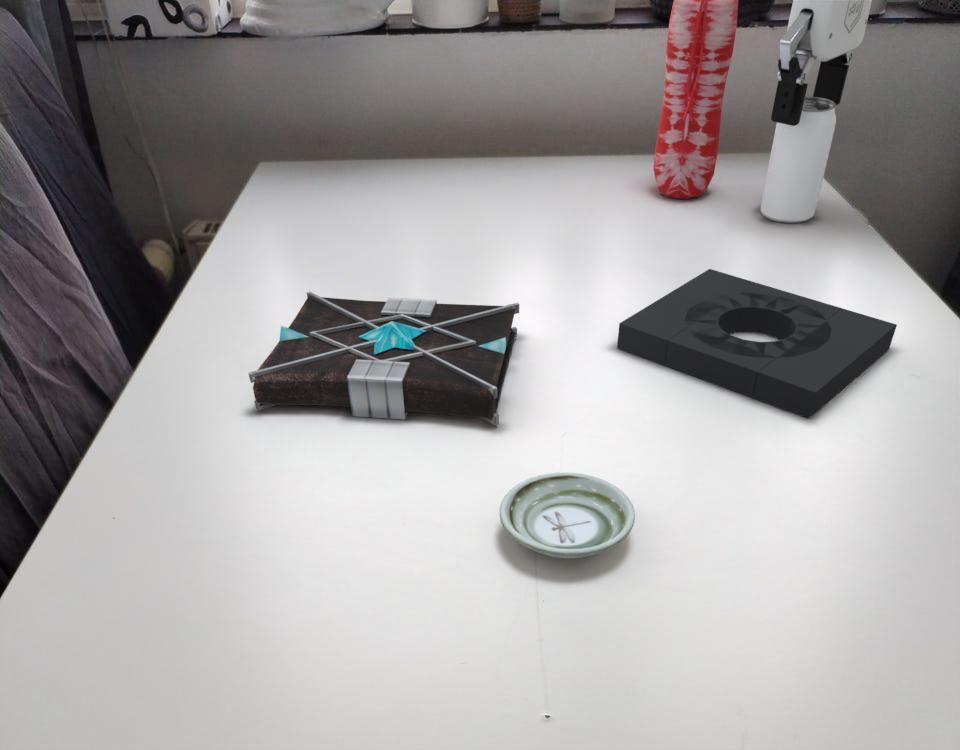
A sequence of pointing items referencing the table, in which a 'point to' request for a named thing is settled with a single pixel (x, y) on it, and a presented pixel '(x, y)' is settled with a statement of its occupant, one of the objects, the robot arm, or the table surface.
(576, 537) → the saucer
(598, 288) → the table surface
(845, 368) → the pad
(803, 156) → the can
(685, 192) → the red tall rounded piece
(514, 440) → the table surface
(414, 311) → the book
